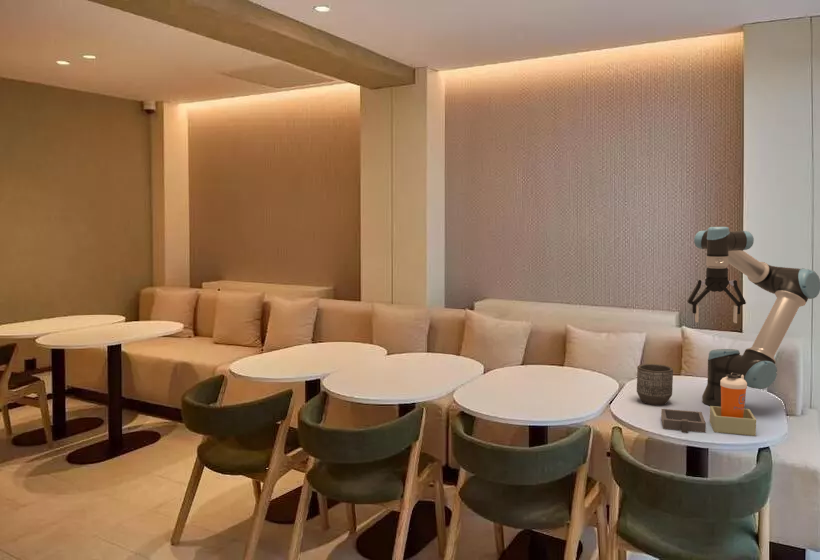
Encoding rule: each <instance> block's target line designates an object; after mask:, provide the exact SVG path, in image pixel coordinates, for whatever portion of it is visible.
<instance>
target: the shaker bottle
mask: <svg viewBox="0 0 820 560" xmlns="http://www.w3.org/2000/svg"><path fill="white" fill-rule="evenodd" d="M726 376H727V377H724V378H722V379H721V380H720V386H721V416H724V417H736V418H743V416H744V409H745V406H746V405H745V404H746V397H747V396H746V393H747V389H748V386H747V382H746V381H745V380H744V375H742V374H737V373H731V374H727V375H726Z"/></svg>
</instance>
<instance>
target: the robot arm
mask: <svg viewBox="0 0 820 560" xmlns="http://www.w3.org/2000/svg"><path fill="white" fill-rule="evenodd" d="M754 241H755V239H754V236H753V234H752V232H750V231H747V230H730V227H728V226H710V227H708V228H707V229H706V230H700V231H697V232H696V234H695V236H694V238H693V243H694V245H695V247H696V248H698V249H700V250H706V269H705V270H706V272H705V274H706V275H705V280H702V279H697V281H696V285H695V287H694V288H693V290H692V292H691V294H690V296H689V298H687V303H688V304H689V305H691V306H692V307H691V308H692V309H691V310H692V311H691V312H692V314H694V321H695V323H699V311H700V310H699V305H698V304H699V303H700V302H701V301H702V300H703V299H704V298H705V296H706V295H707V294H708V293H710V292H714V293H715V292H720V293H722V292H724V293H725V294H726V295H727V296H728V297H729V298H730V299H731V300H732V302H733V303H734V305H733V315H732V317H733V319H732V321H733V323H734V324H738V315H740V314H741V307H742V306H743V305H746V304H747V302H746V299H745V297H744V296H743V293H742V292H741V290H740V288H739V286H738V281H737V280H736V279H732V280H729V269H728V267H729V266H730V265H731V267H733V268H734V269H736V270H737V271H739V272H741V273H742V274H743V275H745V276H746V277H747V280H748V281H750V283H753V284H754V285H756V286H757V287H758V288H761V289H763V290H764V291H767V292H768V293H770V294H774V295H775V297H776V299H775V301H774V303H773V305H772V307H771V309H770V311H769V313H768V315H767V317H766V319H765V320H764V322H763V324H762V326H761V328H760V330H759V332H758V333H757V335H756V338H755V340H754V341H753V344H752V345H751V347H748V348H746V349H745V350H744V352H743V354H741V352H740V350H739V349H736V348H735V349H733V348H719V349H718V348H717V349H712V350H710V351H709V353H708V359H707V383H706V386H705V389H704V391H703V394H702V398H701V401H702V403H703V404H705V405H707V406H709V407H710V406H717V407H721V386H720V380H721V379H722V378H724V377H727V376H726V375H727V374H731V373H737V374H742V375H744V380H745V381H746V382H747V388H749V389H750V388H751V389H757V390H764V389H767V388H769V387H770V386H772V384H774V383H775V381H776V379H777V377H778V376H777V375H778V374H777V372H778V368H777V365H776V363H777V362H776V359H775V355H776V354H777V352H778V350H779V348H780V346H781V344H782V342H783V340H784V338H785V336H786V334H787V332H788V330H789V328H790V326H791V324H792V323H793V320H794V318H795V316H796V314H797V312H798V311H799V308H800V307H804V306H806V305H807V303H808V301H809V300H811V299H815V298H817V297H818V295H819V294H820V276H819V275H818V272H817V273H816V271H815V270H813V269H808V268H807V269H806V268H803V267H802V268H796V267H785V266H784V267H783V266H774V265H770V264H768V263H767V262H764V261H759V260H757V259H756V258H755V257H753V256H752V255H751V254H749V253H748V252H746V251H747V250H749V249H751V248H752V247H753V245H754ZM729 284H730V286H731V287H732V288H733V290H734V292H735V294H736V295H737V297H738V299H739V300H738V299H737V298H736V297H735V295H733V294H732V292H731V291H730V290H729V289H728V288H727V287H728V286H729ZM703 285H706V287H705V288H704V289H703V291H702V292H701V293H700V294H699V295H698V296H697V294H698V292H699V290H700V288H701V286H703ZM696 296H697V297H696ZM695 297H696V298H695Z"/></svg>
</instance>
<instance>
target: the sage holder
mask: <svg viewBox="0 0 820 560" xmlns="http://www.w3.org/2000/svg"><path fill="white" fill-rule="evenodd" d="M709 423H710V426H711V428H712V431H713V433H717V434H720V433H721V434H728V435H738V436H740V435H741V436H749V437H751V436H752V437H756V435H757V418H756V417H755V416H754V414H753V413H752V411H751V409H750V408H744V416H743V418H736V417H724V416H721V407H717V406H710V405H709Z"/></svg>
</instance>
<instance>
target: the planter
mask: <svg viewBox="0 0 820 560" xmlns="http://www.w3.org/2000/svg"><path fill="white" fill-rule="evenodd" d="M636 368H637V371H636V375H637V376H636V394H637V395H638V397H639V399H640V401H641V402H642V403H644V404H646V405H652V406H664V405H666V404H667V403H668V402H669V401H670V399H671V397H672V396H673V381H674V379H673V378H674V368H673V367H671V366H669V365H664V364H655V363H654V364H653V363H643V364H639V365H637V367H636Z"/></svg>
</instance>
